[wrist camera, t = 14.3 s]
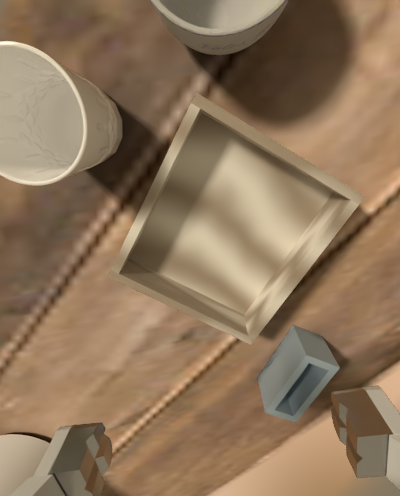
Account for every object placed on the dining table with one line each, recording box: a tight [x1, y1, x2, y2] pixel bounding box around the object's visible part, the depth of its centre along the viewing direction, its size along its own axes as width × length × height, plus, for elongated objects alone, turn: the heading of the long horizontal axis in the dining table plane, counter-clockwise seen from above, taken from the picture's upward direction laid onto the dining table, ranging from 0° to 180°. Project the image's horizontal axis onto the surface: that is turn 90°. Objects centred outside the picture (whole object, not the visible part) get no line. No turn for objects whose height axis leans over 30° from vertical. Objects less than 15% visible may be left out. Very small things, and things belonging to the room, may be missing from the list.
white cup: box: [0, 41, 123, 186], centre depth 22 cm, size 8×8×10 cm
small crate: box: [258, 325, 340, 423], centre depth 33 cm, size 9×4×5 cm, turn 157°
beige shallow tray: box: [108, 93, 365, 345], centre depth 27 cm, size 18×16×4 cm
